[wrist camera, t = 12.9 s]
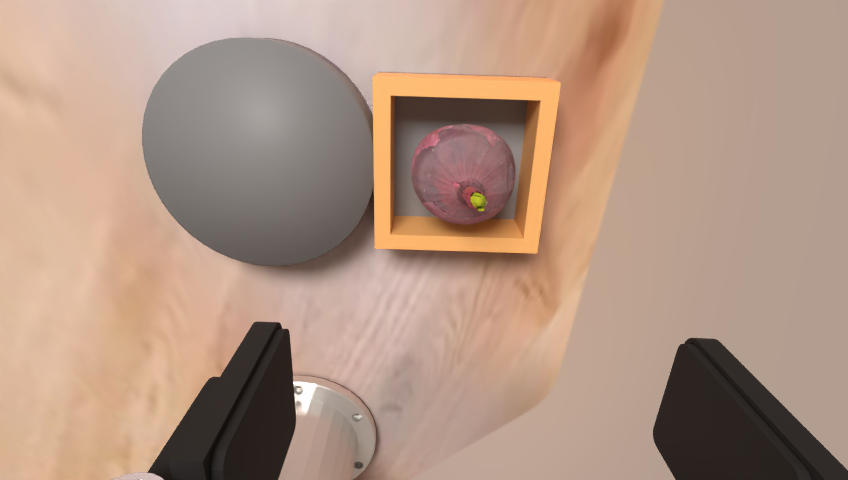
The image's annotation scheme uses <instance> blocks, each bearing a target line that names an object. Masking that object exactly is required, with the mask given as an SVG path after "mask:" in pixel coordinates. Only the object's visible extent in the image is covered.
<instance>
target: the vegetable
mask: <svg viewBox="0 0 848 480" xmlns="http://www.w3.org/2000/svg"><path fill="white" fill-rule="evenodd" d="M515 167H516V166H515V161H514V157H513V153H512V151H511V149H510V147H509V145H508V144H507V143H506V141H505V140H504V139H503V138H502V137H500V136H499V135H498V134H496V133H495V132H493V131H492V130H490V129H488V128H485V127H482V126H478V125H469V124H459V125H450V126H445V127H442V128H439V129H437V130H435V131H433V132H431V133H429V134H428V135H427V136H426V137H424V138H423V140H422V141H421V142H420V143H419V145H418V146H417V148H416V150H415V153H414V155H413V158H412V164H411V179H412V184H413V189H414V191H415V193H416V195H417V196H418V198H419V200H420V202H421V203H422V204H423V205H424V206H425V208H426V209H427V210H429V211H430V212H431V213H432V214H434V215H435V216H437V217H438V218H440V219H442V220H444V221H447V222H450V223H454V224H460V225H468V224H475V223H479V222H482V221H485V220H487V219H490V218H492V217H493V216H495V215H496V214H497V213H498V212H500V211H501V210H502V209H503V208H504V206H505V205H506V203H507V202H508V200H509V199H510V196H511V194H512V192H513V189H514V185H515V180H516V168H515Z"/></svg>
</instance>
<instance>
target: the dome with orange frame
mask: <svg viewBox="0 0 848 480" xmlns="http://www.w3.org/2000/svg"><path fill="white" fill-rule="evenodd" d="M560 86H561V82H558V81H555V80H551V79H548V78H545V77H518V76H488V75H458V74H427V73H397V72H378V73H377V74H375V75H374V76H373V116H372V113H371V111H370V109H369V107H368V105H367V103H366V101H365V99H364V97H363V96H362V94H361V93H360V91H359V90H358V88H357V87H356V86H355V84H354V83H353V82H352V81H351V80H350V79H349V77H348V76H347V75H346V74H345V73H344V72H343V71H342V70H340V69H339V68H338V67H337V66H336V65H335V64H333V63H332V62H331V61H329V60H328V59H327V58H325V57H324V56H322V55H320V54H318V53H317V52H315V51H313V50H311V49H309V48H306V47H304V46H301V45H299V44H296V43H292V42H288V41H284V40H279V39H269V38H229V39H224V40H218V41H213V42H210V43H208V44H205V45H202V46H199V47H197V48H195V49H193V50H192V51H190V52H188V53H186V54H184V55H183V56H182V57H181V58H179V59H178V60H177V61H175V62H174V63H173V64H172V65H171V66H170V67H169V68H168V69H167V70H166V71H165V72H164V74H163V75H162V76H161V78H160V79H159V81H158V82H157V84H156V85H155V87H154V89H153V91H152V93H151V95H150V97H149V100H148V103H147V106H146V110H145V113H144V119H143V127H142V146H143V153H144V160H145V163H146V167H147V171H148V174H149V177H150V179H151V181H152V184H153V186H154V189H155V190H156V192H157V194H158V196H159V198H160V199H161V201H162V203H163V204H164V206H165V207H166V208H167V210H168V211H169V213H170V214H171V215H172V216H173V217H174V219H175V220H176V221H177V222H178V223H179V224H180V225H181V226H182V227H183V228H184V229H185V230H186V231H187V232H188V233H190V234H191V235H192V236H193V237H194V238H196V239H197V240H199V241H200V242H201V243H203V244H204V245H206V246H208V247H209V248H211V249H213V250H214V251H216V252H218V253H221V254H223V255H225V256H227V257H230V258H232V259H236V260H239V261H242V262H246V263H251V264H256V265H265V266H286V265H292V264H299V263H302V262H306V261H309V260H312V259H314V258H317V257H319V256H321V255H323V254H325V253H327V252H328V251H330V250H332V249H333V248H335V247H336V246H337V245H339V244H340V243H341V242H342V241H344V240H345V239H346V237H347V236H348V235H349V234H350V233H351V232H352V231H353V230H354V228H355V227H356V226H357V224H358V223H359V221H360V220H361V218H362V216H363V214H364V212H365V210H366V208H367V206H368V203H369V200H370V197H371V195H372V192H373V189H374V234H375V249H408V250H441V251H473V252H506V253H537V251H538V244H539V237H540V230H541V223H542V215H543V208H544V201H545V194H546V187H547V179H548V172H549V165H550V158H551V151H552V144H553V136H554V129H555V122H556V115H557V108H558V101H559V93H560ZM459 124H469V125H478V126H482V127H485V128H488V129H490V130H492V131H493V132H495V133H496V134H498V135H499V136H500V137H502V138H503V139H504V140H505V141H506V143H507V144H508V145H509V147H510V149H511V151H512V153H513V157H514V161H515V166H516V167H515V168H516V180H515V185H514V189H513V192H512V194H511V196H510V199H509V200H508V202H507V203H506V205H505V206H504V208H503V209H502V210H501V211H500V212H498V213H497V214H496V215H495V216H493V217H492V218H490V219H487V220H485V221H482V222H479V223H475V224H468V225H460V224H454V223H450V222H447V221H444V220H442V219H440V218H438V217H437V216H435V215H434V214H432V213H431V212H430V211H429V210H427V209H426V208H425V206H424V205H423V204H422V203H421V202H420V200H419V198H418V196H417V195H416V193H415V191H414V189H413V184H412V179H411V164H412V158H413V155H414V153H415V150H416V148H417V146H418V145H419V143H420V142H421V141H422V140H423V138H424V137H426V136H427V135H428V134H429V133H431V132H433V131H435V130H437V129H439V128H442V127H445V126H450V125H459Z"/></svg>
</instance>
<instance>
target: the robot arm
mask: <svg viewBox="0 0 848 480" xmlns="http://www.w3.org/2000/svg"><path fill="white" fill-rule="evenodd" d="M653 438H654V442H655V444H656V446H657V448H658V450H659V452H660V453H661V455H662V457H663V459H664V460H665V462H666V464H667V465H668V467H669V469H670V471H671V472H672V474H673V476H674V477H675V479H676V480H848V470H847V469H846V468H845V467H844V466H843V465H842V464H841V463H840V462H839V461H838V460H837V459H836V458H835V457H834V456H833V455H832V454H831V453H830V452H829V451H828V450H827V449H826V448H825V447H824V446H823V445H822V444H821V443H820V442H819V441H818V440H817V439H816V438H815V437H814V436H813V435H812V434H811V433H810V432H809V431H808V430H807V429H806V428H805V427H804V426H803V425H802V424H801V423H800V422H799V421H798V420H797V419H796V418H795V417H794V416H793V415H792V414H791V413H790V412H789V411H788V410H787V409H786V408H785V407H784V406H783V405H782V404H781V403H780V402H779V401H778V400H777V399H776V398H775V397H774V396H773V395H772V394H771V393H770V392H769V391H768V390H767V389H766V388H765V387H764V386H763V385H762V384H761V383H760V382H759V381H758V380H757V379H756V378H755V377H754V376H753V375H752V374H751V373H750V372H749V371H748V370H747V369H746V368H745V367H744V366H743V365H742V364H741V363H740V362H739V361H738V360H737V359H736V358H735V357H734V356H733V355H732V354H731V353H730V352H729V351H728V350H727V349H726V348H725V347H724V346H723V345H722V344H721V343H720V342H719V341H718V340H716V339H703V338H689V339H688V340H687V341H686V342H685V344H681V345H680V346H679V347H678V350H677V353H676V356H675V359H674V363H673V366H672V369H671V372H670V376H669V379H668V382H667V386H666V389H665V392H664V395H663V399H662V402H661V405H660V409H659V412H658V415H657V419H656V422H655V425H654V429H653ZM375 444H376V427H375V424H374V420H373V418H372V416H371V414H370V412H369V410H368V409H367V407H366V406H365V405H364V404H363V403H362V401H361V400H360V399H359V398H358V397H356V396H355V395H354V394H353V393H351V392H350V391H349V390H347V389H345V388H343V387H342V386H340V385H338V384H336V383H333V382H330V381H328V380H325V379H321V378H316V377H312V376H300V375H294V376H293V371H292V358H291V346H290V334H289V330H288V329H282V326H281V324H280V323H279V322H254V324H253V325H252V326H251V328H250V330H249V331H248V333H247V334H246V336H245V338H244V339H243V341H242V343H241V344H240V346H239V347H238V349H237V351H236V352H235V354H234V355H233V357H232V359H231V360H230V362H229V364H228V365H227V367H226V368H225V370H224V372H223V373H222V375H221V376H220V377H212V378H210V379H209V380H208V381H207V382H206V384H205V385H204V387H203V388H202V390H201V391H200V393H199V394H198V396H197V397H196V399H195V400H194V402H193V403H192V405H191V407H190V408H189V410H188V411H187V413H186V414H185V416H184V417H183V419H182V420H181V422H180V423H179V425H178V427H177V428H176V430H175V431H174V433H173V434H172V436H171V437H170V439H169V440H168V442H167V443H166V445H165V446H164V448H163V450H162V451H161V453H160V454H159V456H158V457H157V459H156V460H155V462H154V463H153V465H152V466H151V468H150V470H149V471H148V473H144V472H139V473H132V474H126V475H123V476H120V477H118V478H115V479H112V480H353V479H355V478H356V477H357V476H359V475H360V474H361V473H362V472H363V471H364V470H365V469H366V467H367V466H368V464H369V463H370V462H371V459H372V457H373V454H374V451H375Z"/></svg>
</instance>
